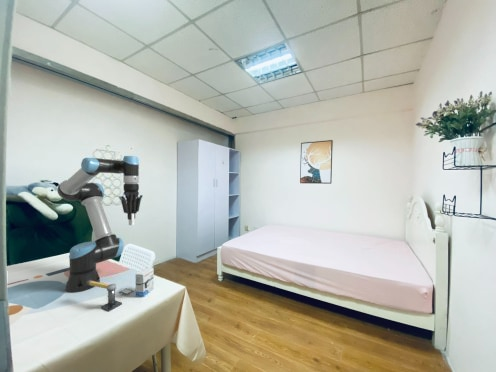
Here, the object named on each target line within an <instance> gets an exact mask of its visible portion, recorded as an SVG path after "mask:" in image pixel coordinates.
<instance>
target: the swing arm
mask: <svg viewBox="0 0 496 372" xmlns="http://www.w3.org/2000/svg"><path fill="white" fill-rule="evenodd" d="M86 283H87V286H90V285H91V286H95V287H96V288H97V287H98V288H101V289H106V292H108V291H113V290H115V291H116V289H117V284H116V283H111V284H109V283H104V282H101V281H100V282H95V281H92V280H87V281H86Z"/></svg>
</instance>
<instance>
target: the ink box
mask: <svg viewBox="0 0 496 372" xmlns="http://www.w3.org/2000/svg"><path fill="white" fill-rule="evenodd" d="M154 269H155V268H153V267H148V266H147V267H144V268H142V269H141V270H139V271H137V272H136V273H135V297H140V298H141V297H142V298H144V297H146V295H147V296H148V294H150V293H151V292H152V291H153V290H154V289H155V287H154V283H155V282H154V281H155V280H154V274H155V273H154Z"/></svg>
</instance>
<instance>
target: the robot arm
mask: <svg viewBox="0 0 496 372" xmlns="http://www.w3.org/2000/svg"><path fill="white" fill-rule="evenodd" d="M80 166H81V167H80V168H79V170H77V171H76V172H75V173H73V174H72V176H71V177H69V178H68V179H66V180H63V181H62V182H60V183H59V185H58V186H57V188H56V189H57V190H56V191H57V194H58V195H59V197H60V198H62V199H64V200H65V201H70V202H80V204H81V205H82V206H84V207H85V210H86V212H87V216H88V219H89V221H90V224H91V227H92V229H93V232H94V235H95V239H94V241H85V242H82V243H78V244H76V245H73V246H72V247H71V248H70V250H69V256H68V258H69V276H68V279H67V281H66V284H65V291H66V292H67V293H78V292H85V291H87V290H90V289H92V288H95V287H96V286H91V285H90V286H87V283H86V281H87V280H92V281H95V282H100V283H101V278H100V275H99V272H98V270H97V264H99V263H102V262H105V261H108V260H113V259H115V258H118V257H119V256H121V255H122V253H123V251H124V241H123V239H122V238H121V237H117V235H116V234H115V233H113V232H112V228H111V226H110V223H109V220H108V217H107V215H106V213H105V210H104V207H103V204H102V201H103V199H104V197H105V189H104V187H103V186H102V184H100V183H98V182H90V181H91V180H93V178H95V177H97V176H98V175H99V174H100V173H106V174H118V175H119V174H123V177H122V178H123V181H122V182H123V183H124V184H123V194H122V195H120V196H119V197H118V198H119V200H120V202H121V206H122V211H123V213H124V214H127V220H128V225H129V226H134V225H135V219H136V214H137V213H138V212H139V211H140V207H141V206H140V205H141V201H142V199H143V195H142V194H140V192H139V189H140V187H139V185H140V184H139V183H140V182H139V181H140V180H139V179H140V176H139V175H140V172H139V169H140V168H139V167H140V162H139V158H138V156H134V155H124V156H123V159H122V160H119V159H107V158H95V157H84V158H82V160H81V163H80Z"/></svg>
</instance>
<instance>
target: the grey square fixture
mask: <svg viewBox="0 0 496 372" xmlns="http://www.w3.org/2000/svg"><path fill="white" fill-rule="evenodd" d="M122 305H123V302H121V301H118V300H116V289H115V290H113V291H107V303H105V304H103V305H101V306H100V309H102V310H105V311H106V312H111V311H113V310H114V309H116V308H118V307H120V306H122Z"/></svg>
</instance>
